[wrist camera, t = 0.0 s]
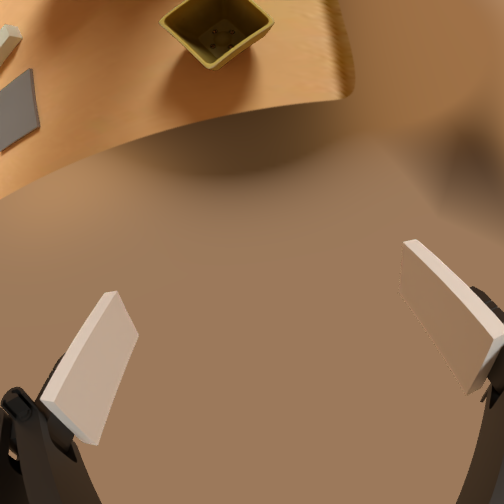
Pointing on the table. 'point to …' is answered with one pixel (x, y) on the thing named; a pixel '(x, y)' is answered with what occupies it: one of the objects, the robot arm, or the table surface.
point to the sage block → (8, 40)
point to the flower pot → (217, 28)
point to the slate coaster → (18, 110)
